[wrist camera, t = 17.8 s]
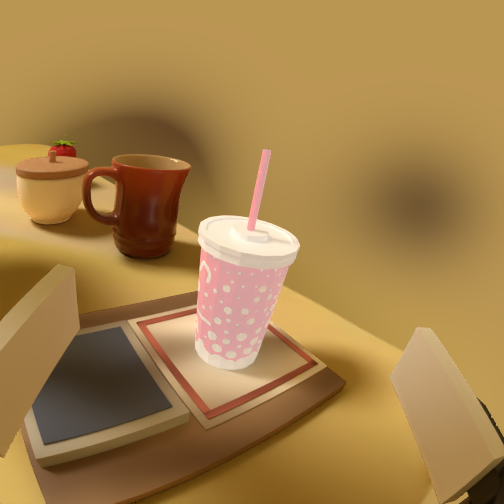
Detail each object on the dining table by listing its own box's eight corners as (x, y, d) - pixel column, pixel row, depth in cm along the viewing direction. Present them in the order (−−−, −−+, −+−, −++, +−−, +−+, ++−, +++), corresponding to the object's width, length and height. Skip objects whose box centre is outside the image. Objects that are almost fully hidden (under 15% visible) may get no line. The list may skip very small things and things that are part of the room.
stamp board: (5, 336, 18) (-1, 315, 18) (224, 291, 32) (228, 274, 31) (58, 524, 9) (46, 513, 8) (342, 389, 22) (352, 371, 21)
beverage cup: (197, 315, 26) (225, 137, 20) (271, 333, 26) (317, 157, 20) (172, 363, 20) (198, 142, 15) (262, 387, 20) (325, 169, 15)
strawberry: (72, 177, 58) (76, 129, 55) (76, 186, 53) (81, 133, 50) (45, 178, 55) (48, 130, 51) (47, 188, 50) (50, 134, 46)
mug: (161, 230, 43) (171, 155, 39) (192, 259, 37) (206, 171, 33) (74, 239, 35) (77, 154, 31) (90, 274, 29) (92, 170, 25)
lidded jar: (97, 210, 45) (101, 148, 41) (65, 236, 35) (66, 160, 31) (40, 201, 43) (42, 143, 40) (3, 224, 34) (1, 155, 30)
